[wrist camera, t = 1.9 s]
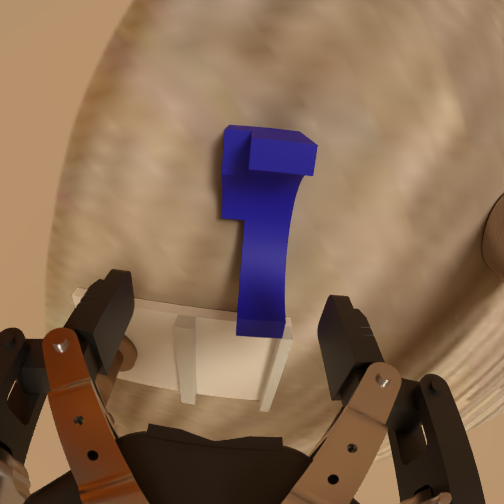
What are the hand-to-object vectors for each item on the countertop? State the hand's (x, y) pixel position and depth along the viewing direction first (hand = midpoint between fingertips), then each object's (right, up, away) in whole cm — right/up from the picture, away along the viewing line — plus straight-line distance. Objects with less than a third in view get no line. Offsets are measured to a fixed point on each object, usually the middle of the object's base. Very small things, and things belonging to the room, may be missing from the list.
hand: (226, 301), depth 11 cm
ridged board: (-6, -8, +16) cm, 19 cm away
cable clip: (+1, +5, +9) cm, 10 cm away
